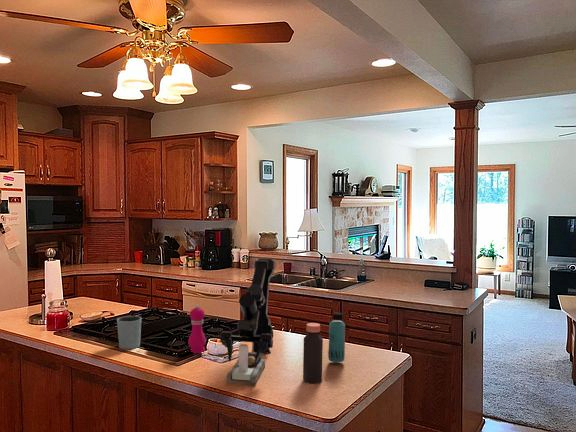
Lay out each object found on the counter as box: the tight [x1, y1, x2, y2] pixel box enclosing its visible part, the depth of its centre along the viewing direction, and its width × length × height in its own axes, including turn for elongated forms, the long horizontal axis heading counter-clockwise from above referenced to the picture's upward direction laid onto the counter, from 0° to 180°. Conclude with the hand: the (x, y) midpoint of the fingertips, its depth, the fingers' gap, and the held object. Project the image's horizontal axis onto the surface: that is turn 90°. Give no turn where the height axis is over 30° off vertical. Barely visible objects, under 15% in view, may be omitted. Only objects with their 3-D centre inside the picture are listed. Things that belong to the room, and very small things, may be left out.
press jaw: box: [232, 343, 254, 380], centre depth 169 cm, size 6×6×11 cm
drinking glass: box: [116, 315, 143, 350], centre depth 206 cm, size 10×10×12 cm
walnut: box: [248, 356, 255, 366], centre depth 181 cm, size 4×4×4 cm
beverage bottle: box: [327, 311, 346, 363], centre depth 189 cm, size 6×7×20 cm
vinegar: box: [302, 322, 324, 385], centre depth 171 cm, size 7×7×20 cm
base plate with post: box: [226, 351, 266, 387], centre depth 175 cm, size 18×10×6 cm, turn 172°
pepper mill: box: [187, 303, 207, 353], centre depth 200 cm, size 7×7×20 cm
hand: (242, 361), depth 167 cm, fingers open, 9 cm apart
